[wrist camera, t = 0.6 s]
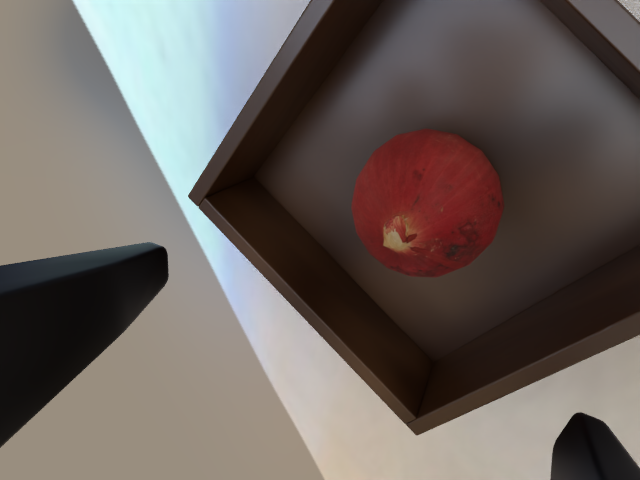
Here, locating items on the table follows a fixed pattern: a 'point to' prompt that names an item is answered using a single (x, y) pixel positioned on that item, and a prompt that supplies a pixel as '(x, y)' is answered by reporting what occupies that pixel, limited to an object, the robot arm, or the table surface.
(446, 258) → the onion
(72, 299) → the robot arm
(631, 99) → the open wooden box
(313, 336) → the table surface
